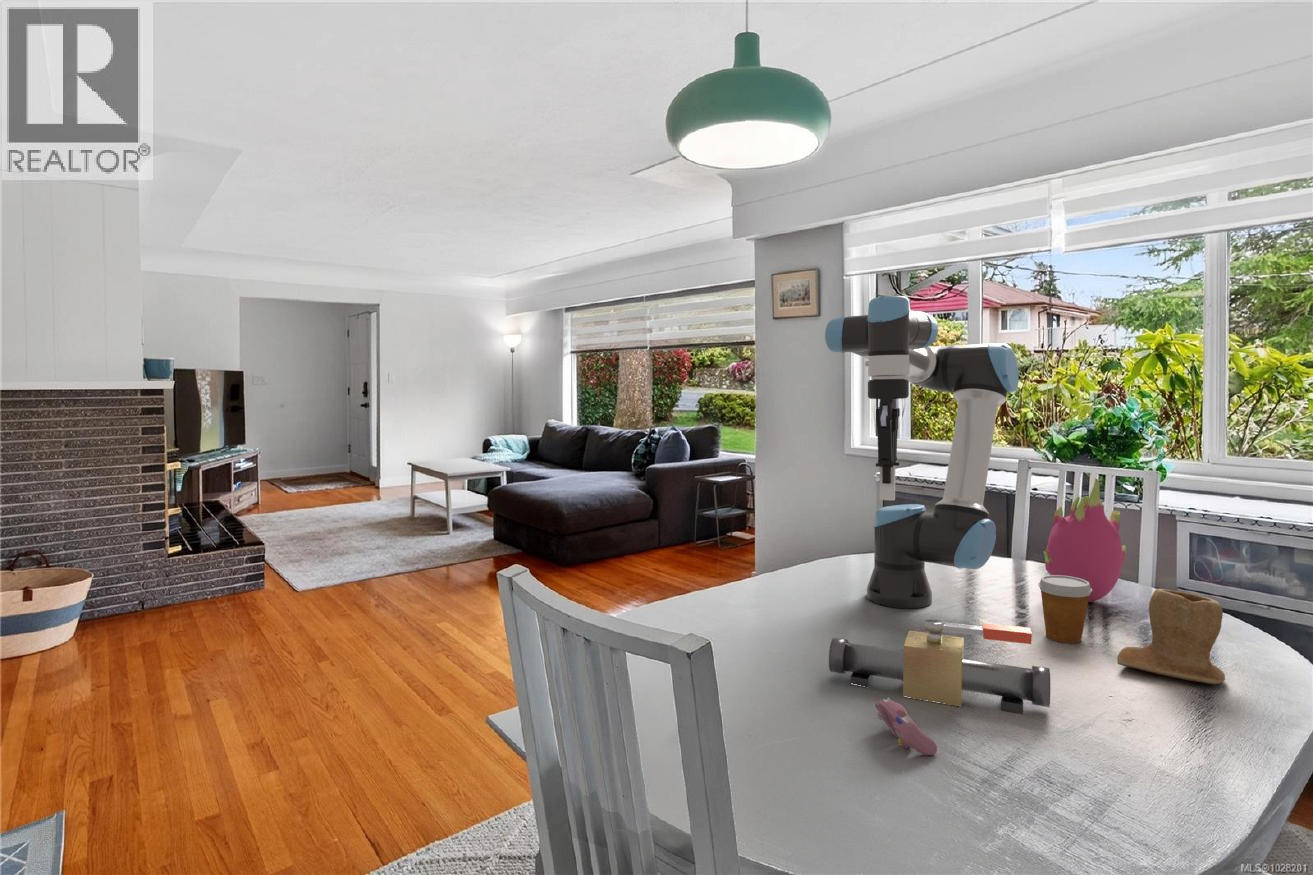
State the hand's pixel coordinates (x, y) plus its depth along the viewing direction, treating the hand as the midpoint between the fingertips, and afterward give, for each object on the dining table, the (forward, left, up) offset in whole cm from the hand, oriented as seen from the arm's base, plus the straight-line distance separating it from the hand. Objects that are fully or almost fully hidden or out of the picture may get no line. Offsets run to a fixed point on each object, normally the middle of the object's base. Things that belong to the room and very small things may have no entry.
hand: (887, 499), depth 136 cm
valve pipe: (+16, +10, -30) cm, 36 cm away
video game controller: (+35, +7, -31) cm, 47 cm away
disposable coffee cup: (-22, +32, -31) cm, 49 cm away
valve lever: (+16, +16, -20) cm, 30 cm away
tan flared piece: (-10, +48, -31) cm, 58 cm away
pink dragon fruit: (-51, +38, -31) cm, 71 cm away
